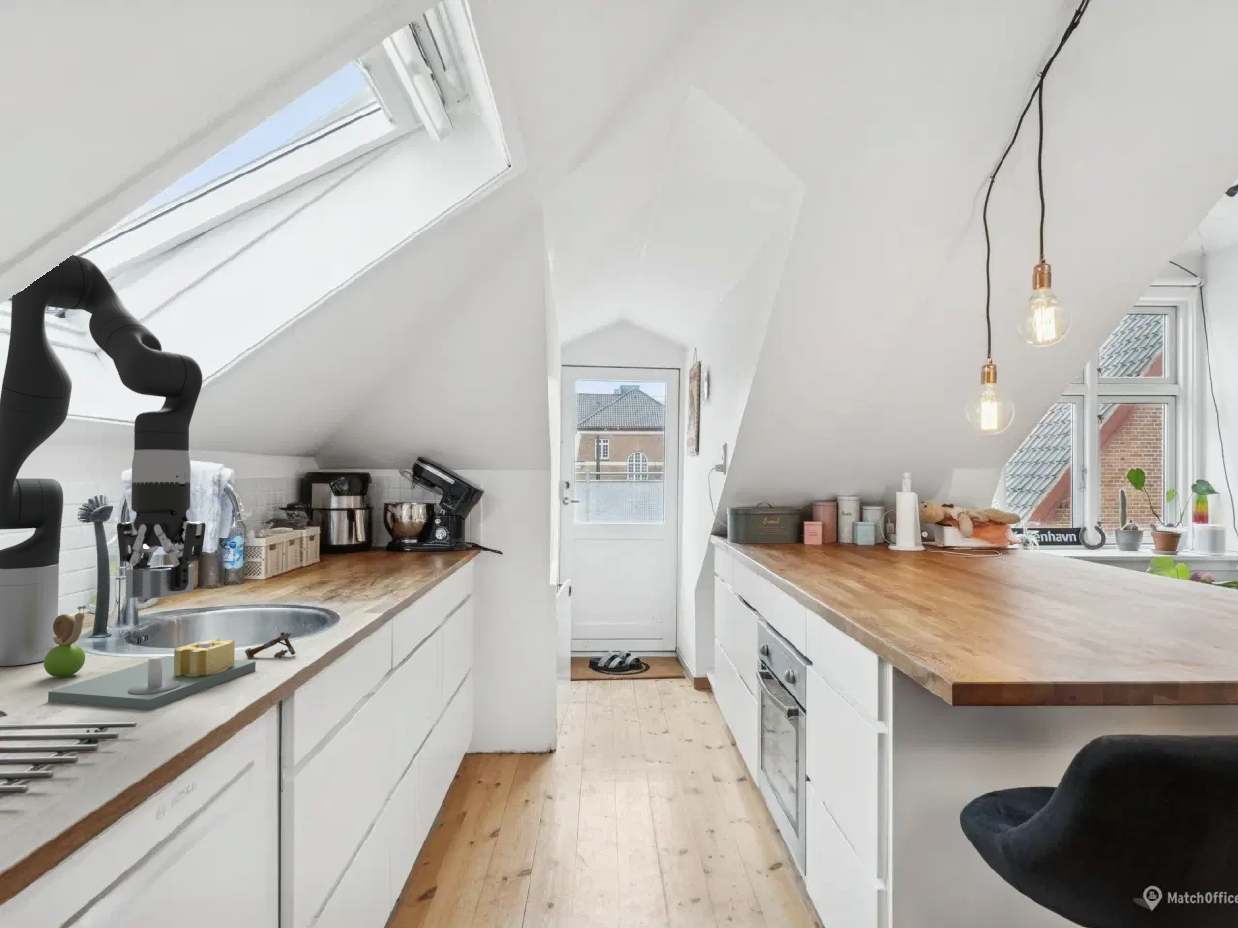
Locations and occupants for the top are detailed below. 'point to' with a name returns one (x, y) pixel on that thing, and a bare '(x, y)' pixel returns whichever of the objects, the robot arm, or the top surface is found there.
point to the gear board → (145, 684)
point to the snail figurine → (66, 646)
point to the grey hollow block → (154, 582)
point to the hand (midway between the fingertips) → (160, 589)
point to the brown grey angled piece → (284, 636)
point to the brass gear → (204, 658)
